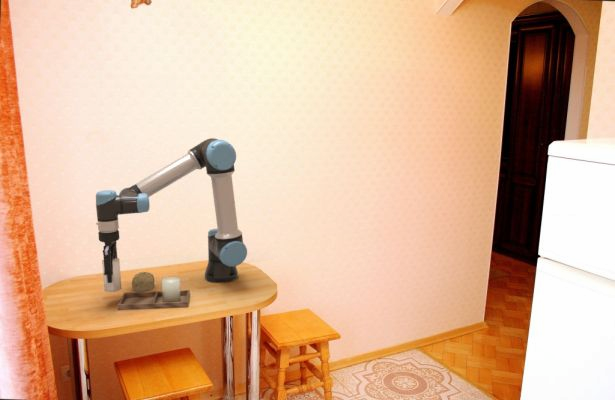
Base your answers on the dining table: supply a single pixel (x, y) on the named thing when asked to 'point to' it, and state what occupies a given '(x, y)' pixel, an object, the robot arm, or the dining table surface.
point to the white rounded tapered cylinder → (116, 275)
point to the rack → (151, 300)
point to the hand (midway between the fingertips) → (112, 286)
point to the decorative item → (143, 282)
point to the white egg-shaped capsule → (171, 289)
